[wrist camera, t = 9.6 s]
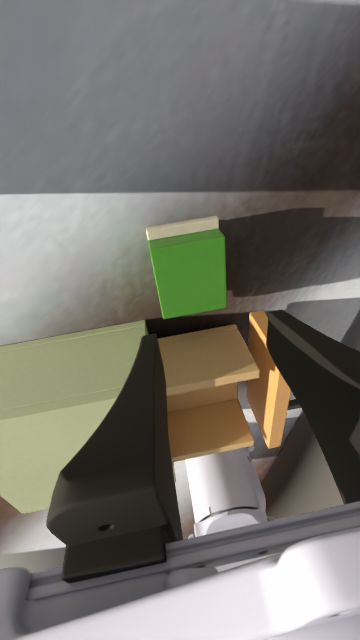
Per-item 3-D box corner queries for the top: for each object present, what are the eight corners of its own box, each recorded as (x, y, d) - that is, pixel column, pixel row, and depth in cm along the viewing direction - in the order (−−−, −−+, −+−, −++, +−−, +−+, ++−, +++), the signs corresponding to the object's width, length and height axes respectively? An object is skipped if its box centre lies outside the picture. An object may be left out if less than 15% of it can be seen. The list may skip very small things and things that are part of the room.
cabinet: (145, 319, 23) (149, 391, 17) (167, 408, 30) (176, 481, 24) (-17, 349, 22) (-76, 435, 16) (46, 432, 30) (22, 514, 23)
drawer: (318, 299, 23) (367, 344, 18) (299, 385, 30) (331, 435, 25) (117, 336, 22) (113, 394, 18) (144, 416, 29) (147, 474, 24)
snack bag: (144, 220, 18) (147, 237, 15) (211, 209, 18) (225, 224, 16) (160, 302, 22) (164, 327, 19) (215, 292, 22) (227, 316, 20)
